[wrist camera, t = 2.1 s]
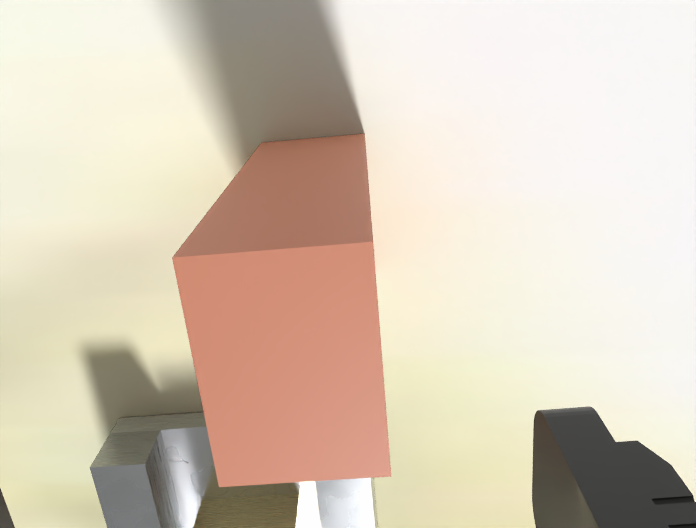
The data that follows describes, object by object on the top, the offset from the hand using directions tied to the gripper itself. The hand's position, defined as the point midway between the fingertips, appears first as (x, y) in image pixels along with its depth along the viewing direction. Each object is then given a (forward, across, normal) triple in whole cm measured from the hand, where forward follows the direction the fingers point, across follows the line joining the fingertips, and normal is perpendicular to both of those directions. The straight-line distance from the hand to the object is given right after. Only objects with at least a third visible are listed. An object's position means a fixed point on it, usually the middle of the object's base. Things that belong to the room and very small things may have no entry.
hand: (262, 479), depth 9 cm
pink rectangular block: (+14, 0, 0) cm, 14 cm away
